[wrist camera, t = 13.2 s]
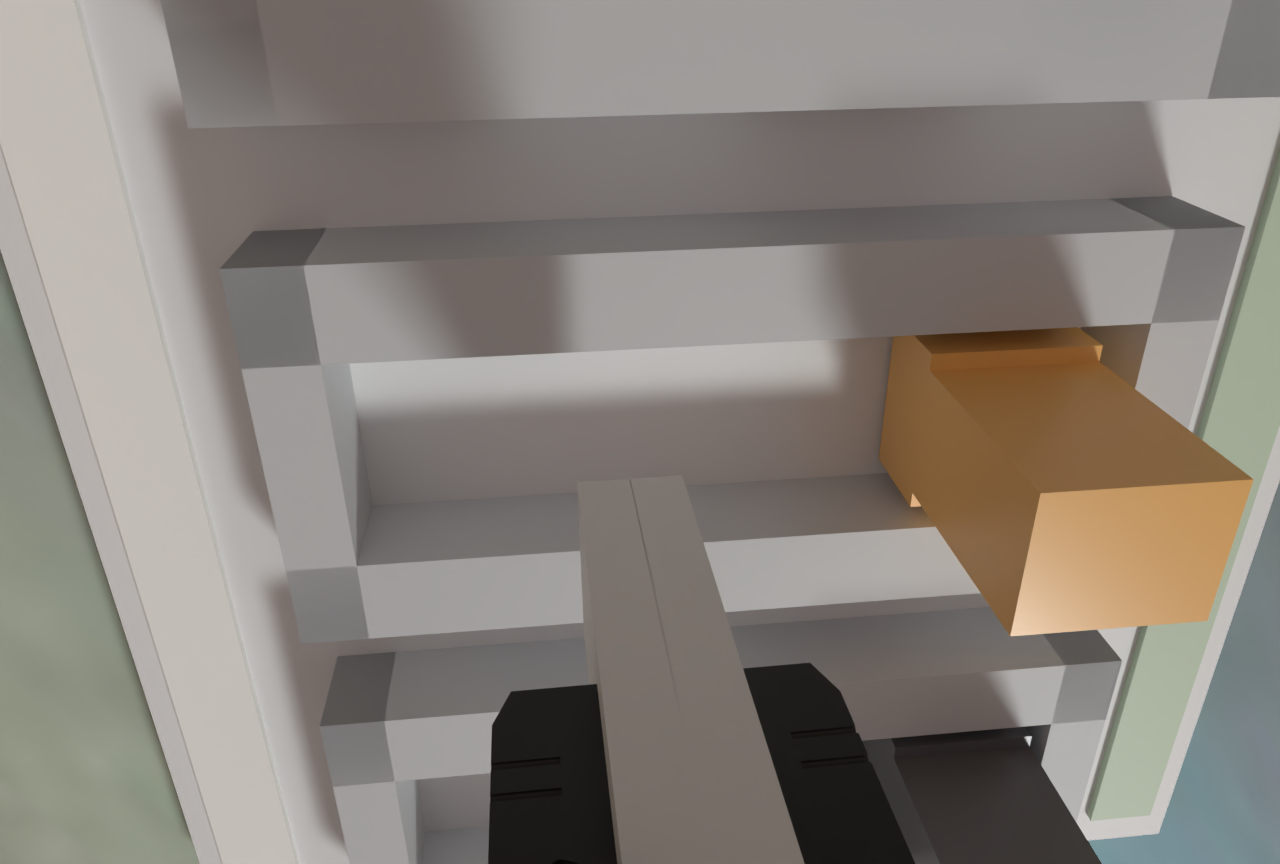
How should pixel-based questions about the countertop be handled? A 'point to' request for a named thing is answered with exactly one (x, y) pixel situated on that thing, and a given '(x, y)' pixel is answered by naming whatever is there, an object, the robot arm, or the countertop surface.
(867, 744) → the block
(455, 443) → the panel
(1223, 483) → the block
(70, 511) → the countertop surface
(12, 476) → the countertop surface
